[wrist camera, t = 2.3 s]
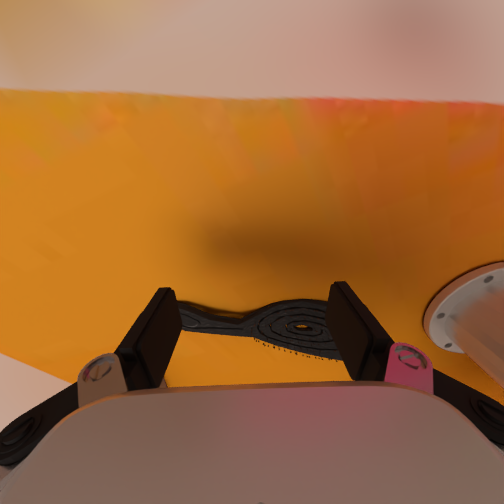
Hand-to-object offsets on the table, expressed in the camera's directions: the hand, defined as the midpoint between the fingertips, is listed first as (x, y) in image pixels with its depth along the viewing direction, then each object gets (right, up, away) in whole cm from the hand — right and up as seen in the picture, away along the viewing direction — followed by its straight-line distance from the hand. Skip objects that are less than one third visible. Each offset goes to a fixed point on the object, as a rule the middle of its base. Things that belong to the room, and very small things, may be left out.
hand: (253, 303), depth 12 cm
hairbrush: (+1, -5, +13) cm, 14 cm away
